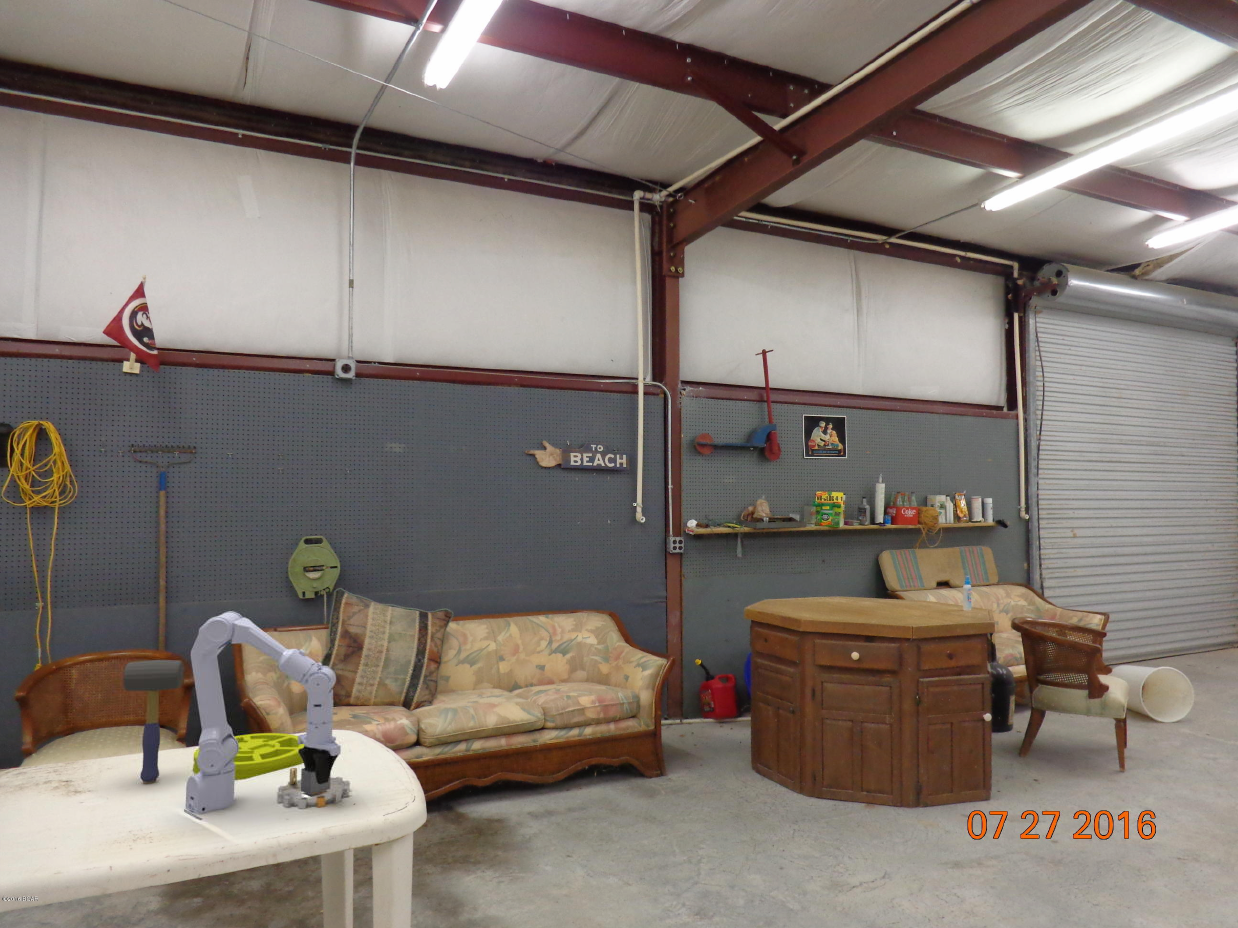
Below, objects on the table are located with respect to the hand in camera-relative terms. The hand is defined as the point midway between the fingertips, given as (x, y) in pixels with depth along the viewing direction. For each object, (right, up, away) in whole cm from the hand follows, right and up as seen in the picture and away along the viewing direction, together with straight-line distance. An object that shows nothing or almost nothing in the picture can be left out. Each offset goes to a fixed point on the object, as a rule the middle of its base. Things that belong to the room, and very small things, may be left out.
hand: (317, 780), depth 188 cm
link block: (0, -2, 0) cm, 2 cm away
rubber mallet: (-47, -6, +13) cm, 49 cm away
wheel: (-2, -5, +3) cm, 6 cm away
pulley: (-29, -7, +30) cm, 42 cm away
